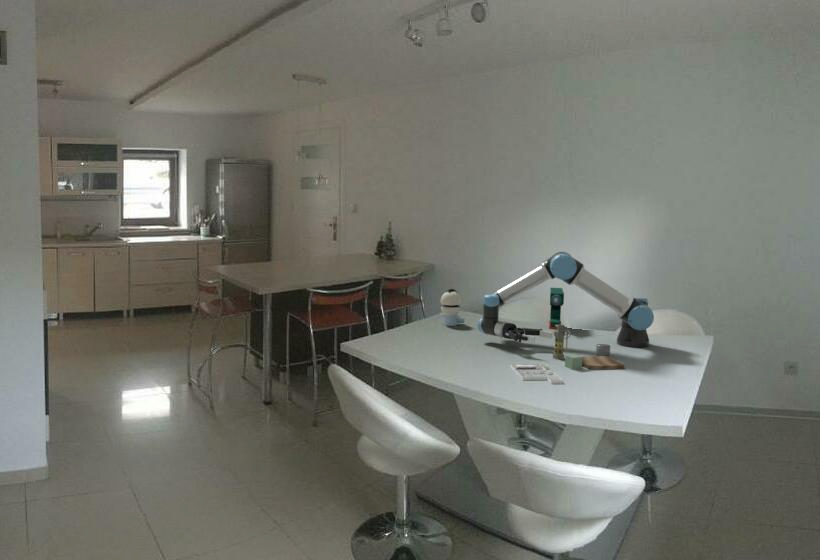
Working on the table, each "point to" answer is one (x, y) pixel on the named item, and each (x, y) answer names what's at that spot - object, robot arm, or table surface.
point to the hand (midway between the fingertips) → (543, 337)
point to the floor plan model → (551, 379)
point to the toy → (451, 308)
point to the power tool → (555, 306)
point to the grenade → (560, 341)
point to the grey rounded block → (603, 350)
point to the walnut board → (601, 362)
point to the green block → (573, 361)
